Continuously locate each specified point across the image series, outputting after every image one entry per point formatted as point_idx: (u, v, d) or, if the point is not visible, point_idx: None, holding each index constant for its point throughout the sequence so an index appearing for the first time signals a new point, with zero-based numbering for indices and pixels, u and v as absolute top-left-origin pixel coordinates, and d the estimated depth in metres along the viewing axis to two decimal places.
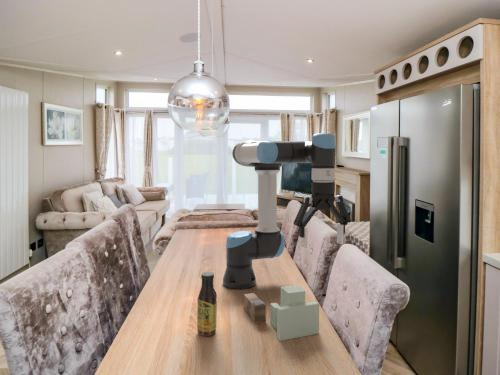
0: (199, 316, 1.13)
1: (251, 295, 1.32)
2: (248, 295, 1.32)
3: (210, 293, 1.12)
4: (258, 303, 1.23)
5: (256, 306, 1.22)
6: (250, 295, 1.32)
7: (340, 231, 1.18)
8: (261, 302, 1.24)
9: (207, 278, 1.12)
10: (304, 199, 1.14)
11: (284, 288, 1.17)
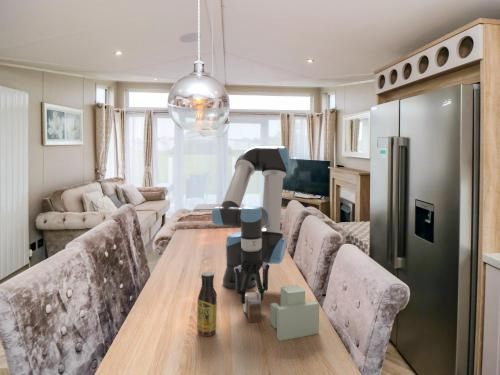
0: (199, 316, 1.13)
1: (252, 294, 1.32)
2: (249, 294, 1.32)
3: (210, 293, 1.12)
4: (254, 302, 1.23)
5: (251, 305, 1.22)
6: (250, 294, 1.32)
7: None
8: (257, 302, 1.24)
9: (207, 278, 1.12)
10: (234, 270, 1.28)
11: (284, 288, 1.17)
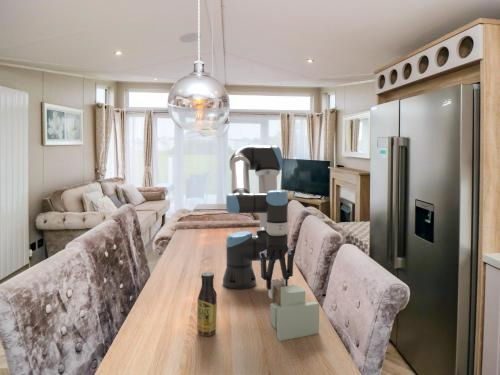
0: (199, 316, 1.13)
1: (276, 282, 1.29)
2: (274, 282, 1.29)
3: (210, 293, 1.12)
4: None
5: None
6: (275, 281, 1.29)
7: None
8: None
9: (207, 278, 1.12)
10: (260, 255, 1.25)
11: (284, 288, 1.17)
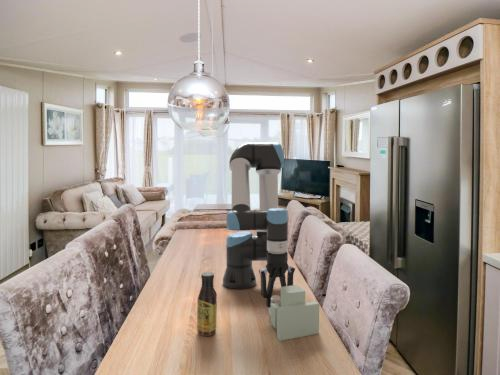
0: (199, 316, 1.13)
1: (276, 297, 1.30)
2: (273, 297, 1.30)
3: (210, 293, 1.12)
4: None
5: None
6: (274, 297, 1.30)
7: None
8: None
9: (207, 278, 1.12)
10: (260, 273, 1.26)
11: (284, 288, 1.17)
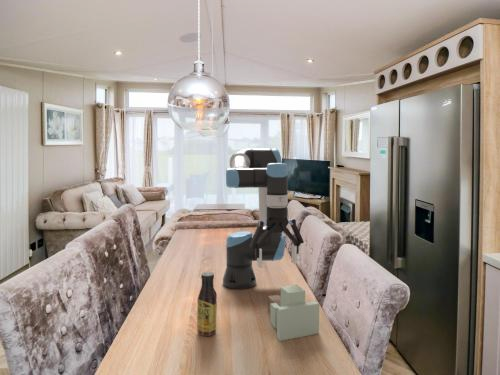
0: (199, 316, 1.13)
1: (276, 297, 1.30)
2: (273, 297, 1.30)
3: (210, 293, 1.12)
4: None
5: None
6: (274, 297, 1.30)
7: (294, 251, 1.29)
8: None
9: (207, 278, 1.12)
10: (259, 223, 1.24)
11: (284, 288, 1.17)
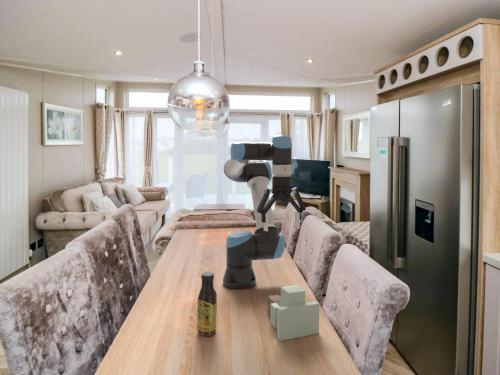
0: (199, 316, 1.13)
1: (276, 297, 1.30)
2: (273, 297, 1.30)
3: (210, 293, 1.12)
4: None
5: None
6: (274, 297, 1.30)
7: (297, 218, 1.41)
8: None
9: (207, 278, 1.12)
10: (265, 190, 1.36)
11: (284, 288, 1.17)
